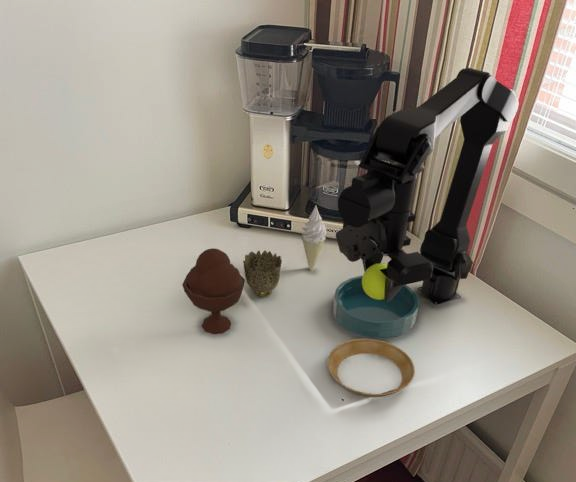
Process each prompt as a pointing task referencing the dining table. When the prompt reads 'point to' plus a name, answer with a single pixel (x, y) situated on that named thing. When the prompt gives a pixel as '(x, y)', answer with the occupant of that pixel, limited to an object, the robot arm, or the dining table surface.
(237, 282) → the ice cream bowl
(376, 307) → the glazed bowl
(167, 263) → the dining table surface
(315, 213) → the ice cream cone
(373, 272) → the ball
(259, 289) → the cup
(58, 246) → the dining table surface
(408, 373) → the plant saucer
